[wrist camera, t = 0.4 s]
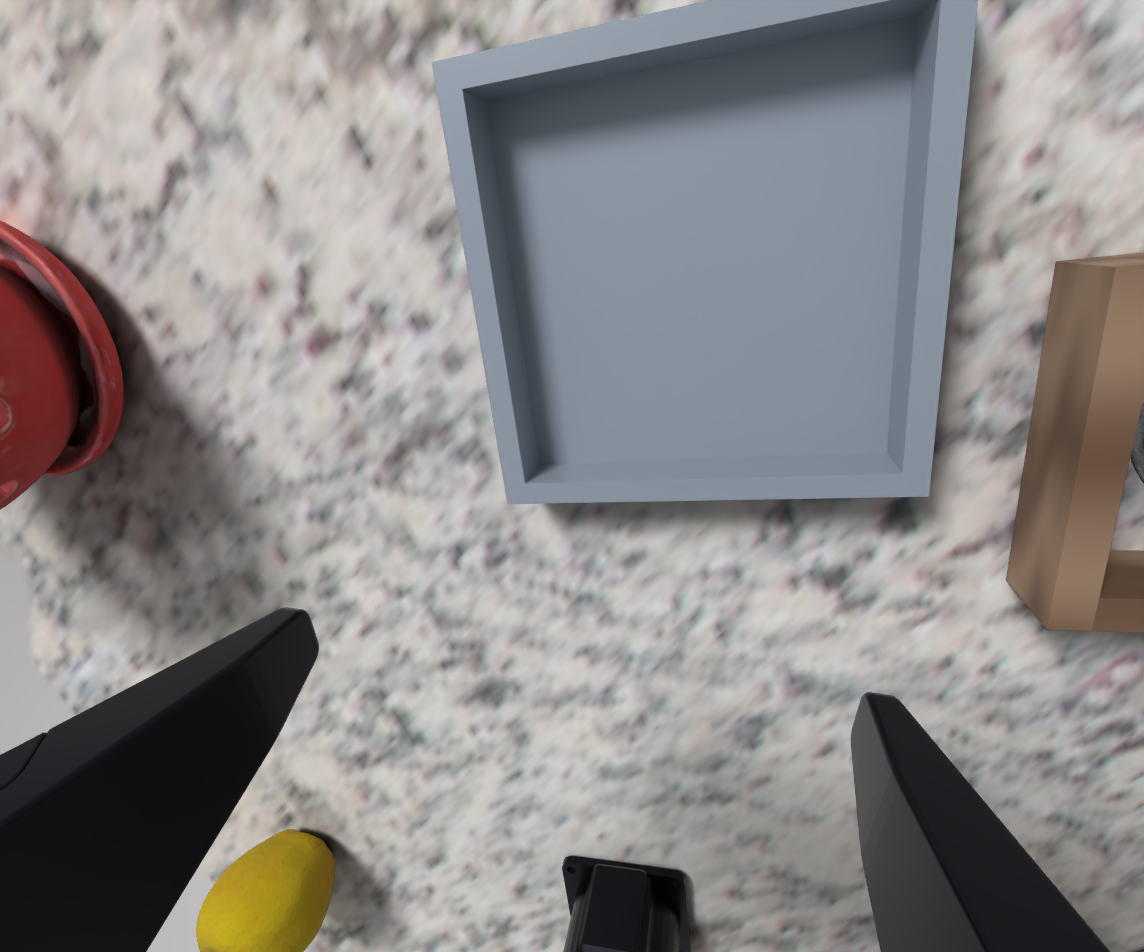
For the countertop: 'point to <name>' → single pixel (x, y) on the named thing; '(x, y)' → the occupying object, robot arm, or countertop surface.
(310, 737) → the countertop surface
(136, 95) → the countertop surface
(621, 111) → the tray
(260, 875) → the apple
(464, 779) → the countertop surface
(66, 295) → the plant pot
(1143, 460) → the salt shaker
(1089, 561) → the socket block
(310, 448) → the countertop surface
